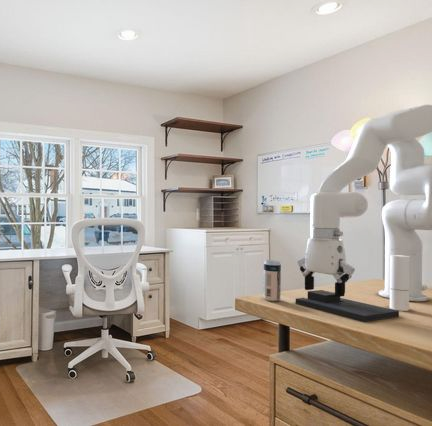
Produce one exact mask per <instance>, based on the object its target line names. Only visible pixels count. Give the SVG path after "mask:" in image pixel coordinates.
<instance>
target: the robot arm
mask: <svg viewBox="0 0 432 426" xmlns="http://www.w3.org/2000/svg"><path fill="white" fill-rule="evenodd" d="M430 133H432V104H421V105H417V106H413V107H409V108H404V109H399V110H396V111H393V112H389V113H386V114H382V115H381V116H379V117H374V118H371V119H369V120H366V121H365V122H363V123H362V125H360V127H359V128H358V131H357V134H356V136H355V138H354V140H353V143H352V145H351V148H350V150H349V152H348V154H347V157H346V159H345V161H343V162H341V163H340V164H339V165H337V167H335V168H334V170H333V171H331V172H330V173H329V174H328V175H327V176H326V177H325V178H324V180H323V182H322V183H321V185H320V186H319V189H318V191H317V192H314V193H312V194H311V196H310V203H309V204H310V205H309V208H310V209H309V210H310V212H309V214H310V215H309V216H310V217H309V218H310V219H309V221H310V222H309V224H310V225H309V238H308V239H307V244H306V249H305V256H304V257H303V258H301V259H298V260H297V265H298V267H299V270H300V272H301V273H302V276H303V277H304V290H305V291H314V289H315V277H314V274H315V273H318V274H324V275H331V276H332V277H333V278H334V279H335V280H336V281H335V283H334V293H335V296H336V297H340V298H342V297H345V295H346V283H348V281H349V280H350V279H351V278H352V275H353V274H354V272H355V271H356V268H354V266H352V265H351V264H348V263H347V260H346V251H345V245H344V242H343V240H342V239H340V237H343V236H344V232H343V231H341V227H340V226H341V225H340V224H341V222H340V221H341V220H340V218H358V217H360V216H362V215H364V214H365V213H366V212H367V210H368V207H369V202H368V199H367V198H366V196H364V194H362V193H359V192H356V191H346V192H342V191H343V190H344V189H345V188H346V187H347V186H349V185H350V184H352V183H353V182H355V181H357V180H359V179H362V178H364V177H366V176H368V175H370V174H372V173H374V172H375V171H376V170H377V169H378V167H379V164H380V162H381V159H382V157H383V155H384V152H385V150H386V147H388V148H389V151H390V170H389V171H390V173H389V175H390V176H389V188H390V191H391V192H392V193H393V194H394V195H397V196H425V198H419V199H418V198H411V199H395V200H391V201H389V202H387V203H385V204H384V205H383V207H382V210H381V219H382V224H383V228H384V289H381V290H379V291H378V295H379V296H381V297H382V298H383V297H384V298H387V299H390V255H403V256H409V302H427V301H428V300H429V297H428V296H427V295H426V294H422V292H423V291H427V290H428V286H427V285H426V284H423V242H422V240H421V238H420V236H419V234H418V233H417V232H416V231H417V230H418V231H432V163H425V148H424V146H423V145H422V144H421V143H420V141H419V140H418V138H420V137H423V136H426V135H428V134H430Z"/></svg>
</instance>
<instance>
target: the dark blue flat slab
mask: <svg viewBox="0 0 432 426" xmlns="http://www.w3.org/2000/svg"><path fill="white" fill-rule="evenodd" d="M295 305H299V306H302V307H307V308H311V309H314V310H318V311H322V312H326V313H328V314H332V315H337V316H340V317H344V318H348V319H352V320H356V321H359V322H363V323H366V322H373V321H381V320H386V319H391V318H392V319H393V318H398V317H400V311H399V310H394V309H391V308H388V307H384V306H378V305H374V304H369V303H365V302H360V301H356V300H352V299H348V298H342V297H340V302H334V303H323V302H319V301H315V300H311V299H308V298H307V297H298V298H295Z"/></svg>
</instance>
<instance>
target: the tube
mask: <svg viewBox="0 0 432 426" xmlns="http://www.w3.org/2000/svg"><path fill="white" fill-rule="evenodd" d="M389 309H393V310H397V311H399V312H408V311H409V310H410V301H409V256H403V255H390V298H389Z"/></svg>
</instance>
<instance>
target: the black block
mask: <svg viewBox="0 0 432 426" xmlns="http://www.w3.org/2000/svg"><path fill="white" fill-rule="evenodd" d="M340 298H341V297H336V296H335V292H332V291H329V290H324V289H319V290H307V299H311V300H315V301H319V302H323V303H334V302H340Z"/></svg>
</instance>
